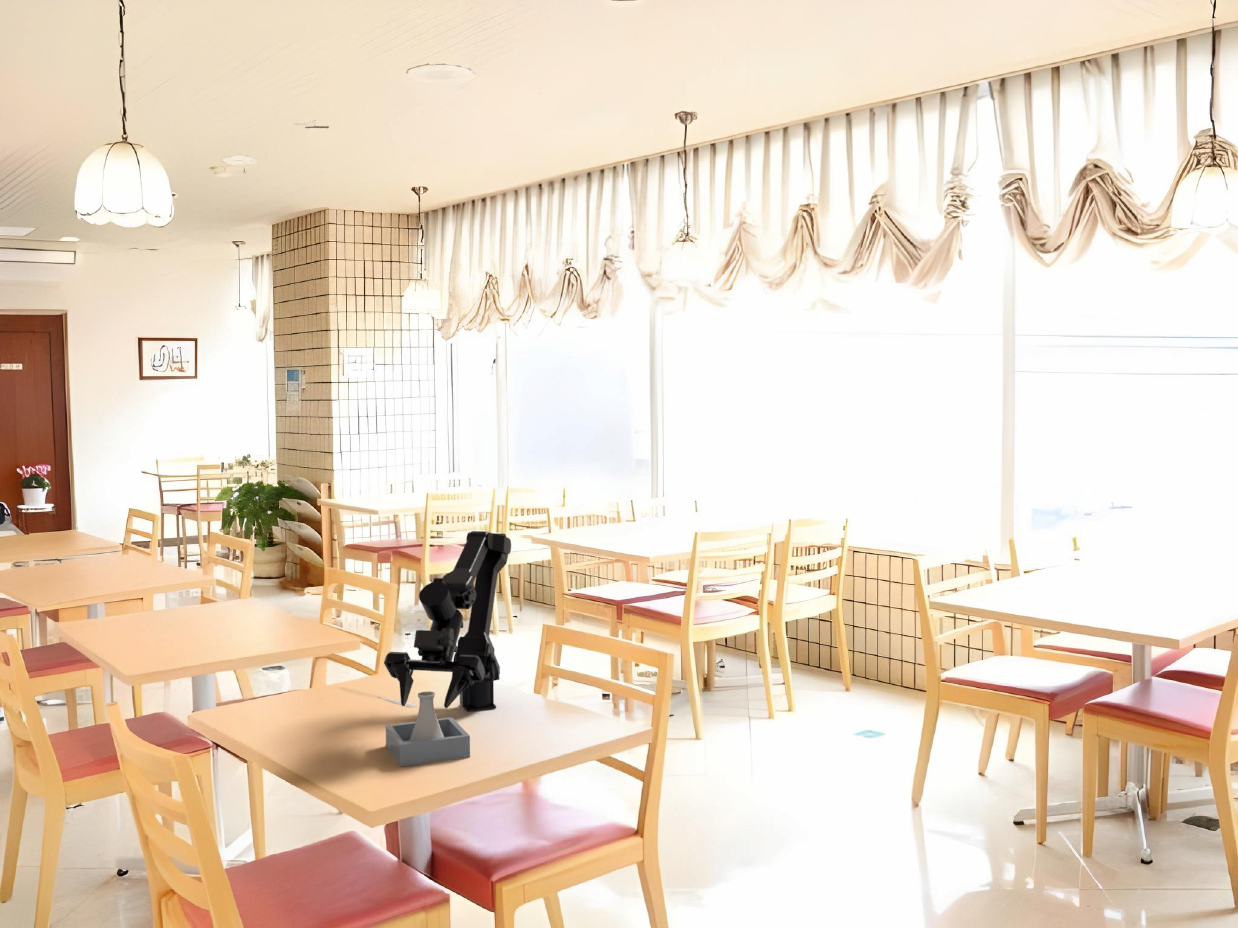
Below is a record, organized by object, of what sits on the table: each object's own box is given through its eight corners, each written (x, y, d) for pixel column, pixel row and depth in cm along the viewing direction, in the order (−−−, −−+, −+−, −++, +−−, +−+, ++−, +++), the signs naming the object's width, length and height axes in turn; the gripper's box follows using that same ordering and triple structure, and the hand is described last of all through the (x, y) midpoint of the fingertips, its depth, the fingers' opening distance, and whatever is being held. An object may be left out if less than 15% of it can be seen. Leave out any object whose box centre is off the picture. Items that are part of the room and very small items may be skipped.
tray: (452, 736, 207) (452, 717, 207) (470, 756, 195) (469, 735, 195) (386, 745, 202) (385, 725, 201) (400, 766, 190) (399, 744, 189)
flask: (440, 737, 203) (439, 686, 203) (451, 748, 197) (450, 695, 196) (403, 742, 200) (402, 691, 200) (413, 753, 194) (412, 700, 193)
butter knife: (407, 707, 227) (418, 704, 229) (332, 688, 243) (342, 685, 246) (408, 710, 227) (418, 706, 229) (332, 691, 244) (343, 687, 246)
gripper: (386, 610, 202) (363, 681, 192) (479, 613, 199) (461, 686, 189) (403, 641, 211) (381, 711, 200) (492, 645, 207) (475, 716, 197)
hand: (423, 705), depth 196 cm, fingers open, 8 cm apart
